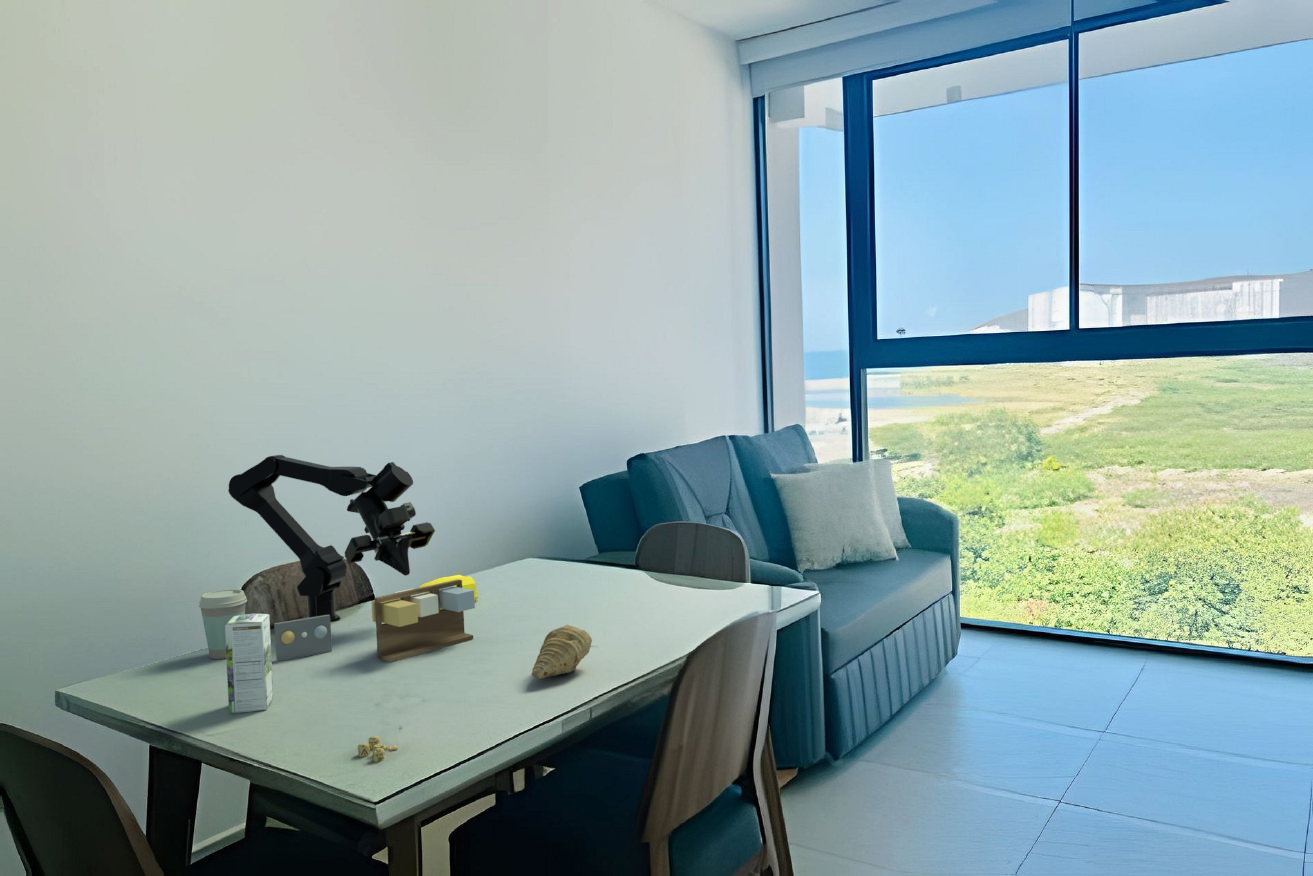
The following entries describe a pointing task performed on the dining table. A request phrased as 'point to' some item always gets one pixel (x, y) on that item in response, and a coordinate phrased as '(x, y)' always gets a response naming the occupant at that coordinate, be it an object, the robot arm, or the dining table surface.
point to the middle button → (424, 603)
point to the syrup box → (249, 663)
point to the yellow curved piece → (466, 583)
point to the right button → (456, 599)
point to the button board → (419, 627)
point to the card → (303, 637)
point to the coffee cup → (220, 617)
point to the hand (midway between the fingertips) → (407, 574)
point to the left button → (397, 612)
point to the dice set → (378, 749)
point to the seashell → (561, 651)
